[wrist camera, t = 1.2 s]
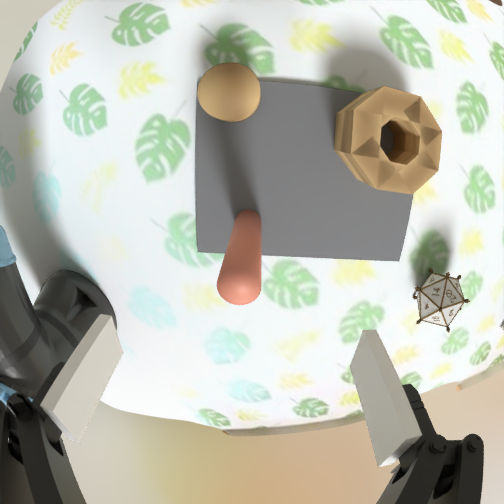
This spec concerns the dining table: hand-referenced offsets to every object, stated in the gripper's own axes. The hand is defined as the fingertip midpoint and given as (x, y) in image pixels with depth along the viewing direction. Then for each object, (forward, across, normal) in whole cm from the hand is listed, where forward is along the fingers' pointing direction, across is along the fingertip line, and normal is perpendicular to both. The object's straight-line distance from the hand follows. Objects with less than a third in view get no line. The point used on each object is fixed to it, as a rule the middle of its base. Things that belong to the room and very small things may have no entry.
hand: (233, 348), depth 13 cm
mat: (+20, +7, +6) cm, 22 cm away
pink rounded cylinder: (+20, 0, 0) cm, 20 cm away
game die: (+21, +27, -8) cm, 35 cm away
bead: (+20, +14, +11) cm, 27 cm away
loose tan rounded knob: (+20, -2, +14) cm, 24 cm away
